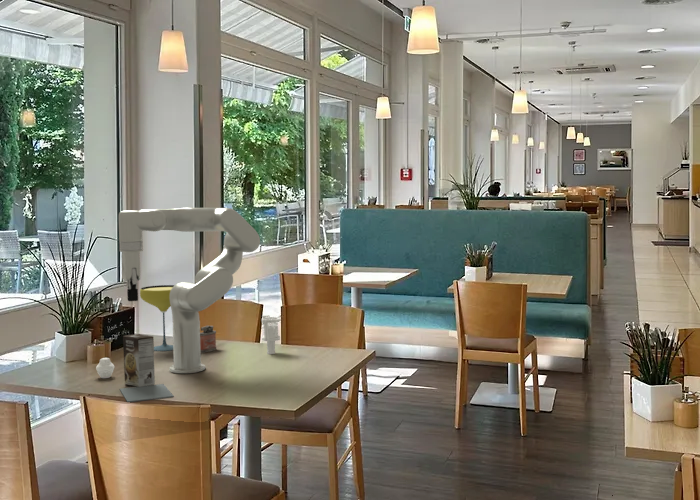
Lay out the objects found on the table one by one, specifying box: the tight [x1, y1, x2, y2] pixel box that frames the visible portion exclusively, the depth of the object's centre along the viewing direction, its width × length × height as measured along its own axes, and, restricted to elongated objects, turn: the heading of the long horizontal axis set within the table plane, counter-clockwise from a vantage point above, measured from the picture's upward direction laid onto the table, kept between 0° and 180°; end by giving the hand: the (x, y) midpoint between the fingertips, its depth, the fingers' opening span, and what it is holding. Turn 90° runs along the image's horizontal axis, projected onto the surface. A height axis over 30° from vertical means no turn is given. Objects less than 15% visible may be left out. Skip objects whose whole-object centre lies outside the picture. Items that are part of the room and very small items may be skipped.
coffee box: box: [122, 333, 156, 387], centre depth 254 cm, size 9×6×16 cm
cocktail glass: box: [139, 284, 175, 352], centre depth 312 cm, size 18×18×25 cm
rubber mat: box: [119, 383, 174, 403], centre depth 243 cm, size 16×14×1 cm
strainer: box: [261, 314, 281, 355], centre depth 301 cm, size 7×7×15 cm
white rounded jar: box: [95, 357, 115, 379], centre depth 265 cm, size 6×6×7 cm
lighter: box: [200, 325, 217, 353], centre depth 308 cm, size 8×3×10 cm, turn 144°
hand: (132, 300), depth 260 cm, fingers closed
